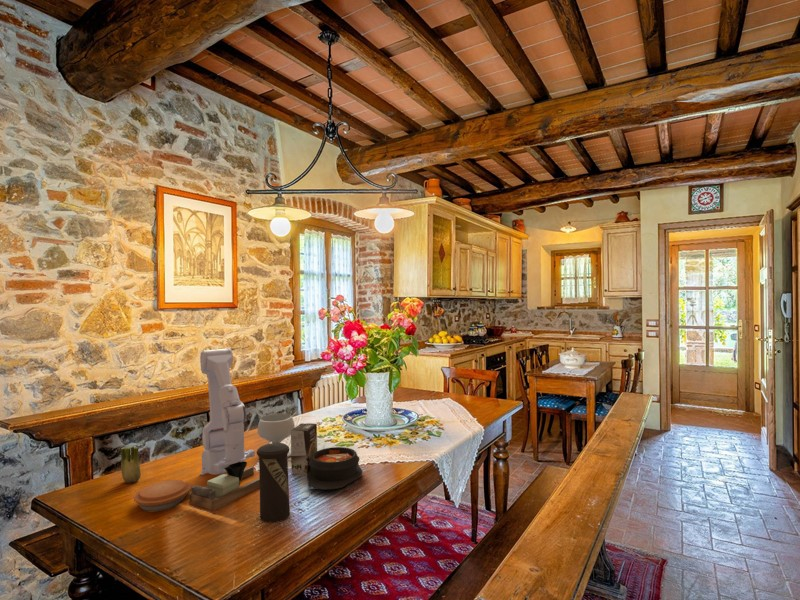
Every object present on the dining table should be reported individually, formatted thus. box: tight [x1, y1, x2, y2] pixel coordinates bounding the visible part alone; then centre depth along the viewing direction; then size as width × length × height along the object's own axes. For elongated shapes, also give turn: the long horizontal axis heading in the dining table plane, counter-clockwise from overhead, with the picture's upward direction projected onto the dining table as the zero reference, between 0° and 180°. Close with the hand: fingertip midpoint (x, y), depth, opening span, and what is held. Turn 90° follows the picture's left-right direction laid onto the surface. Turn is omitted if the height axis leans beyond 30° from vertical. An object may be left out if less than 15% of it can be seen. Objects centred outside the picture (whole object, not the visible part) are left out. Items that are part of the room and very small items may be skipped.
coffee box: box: [290, 422, 318, 476], centre depth 157 cm, size 9×6×16 cm
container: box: [256, 442, 291, 524], centre depth 126 cm, size 9×9×20 cm
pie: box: [133, 479, 192, 512], centre depth 136 cm, size 16×16×5 cm
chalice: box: [257, 412, 296, 458], centre depth 174 cm, size 14×14×15 cm
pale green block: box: [206, 473, 241, 498], centre depth 137 cm, size 7×6×5 cm
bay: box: [188, 466, 260, 515], centre depth 140 cm, size 11×25×6 cm, turn 151°
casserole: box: [306, 446, 363, 491], centre depth 150 cm, size 25×19×8 cm
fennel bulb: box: [120, 445, 142, 484], centre depth 152 cm, size 6×5×12 cm
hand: (235, 485), depth 141 cm, fingers closed
